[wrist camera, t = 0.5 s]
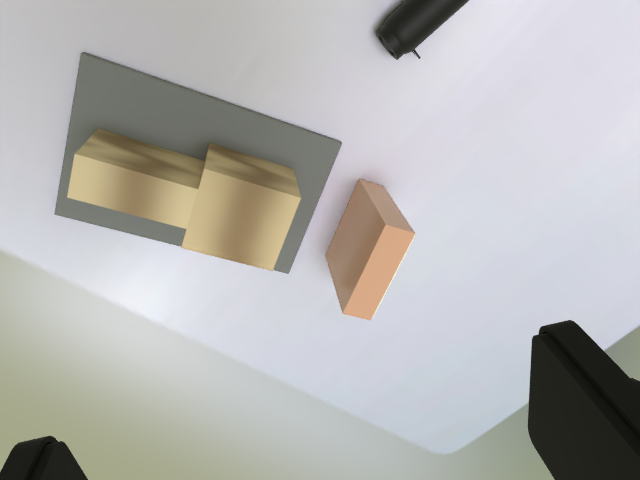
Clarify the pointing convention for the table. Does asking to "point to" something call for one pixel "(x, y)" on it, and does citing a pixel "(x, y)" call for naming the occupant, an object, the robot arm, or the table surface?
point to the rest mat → (186, 143)
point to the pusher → (192, 194)
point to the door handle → (415, 24)
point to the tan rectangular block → (367, 249)
